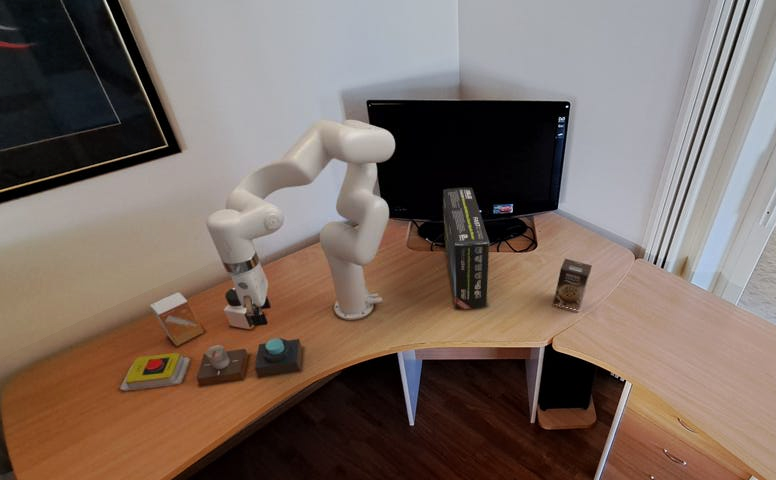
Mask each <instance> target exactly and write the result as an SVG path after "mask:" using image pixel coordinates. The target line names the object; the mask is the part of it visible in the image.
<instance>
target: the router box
mask: <svg viewBox="0 0 776 480" xmlns="http://www.w3.org/2000/svg"><path fill="white" fill-rule="evenodd" d="M479 208H480V207H479V205H478V202H477V199H476V195H475V193H474V189H473V188H472V187H456V188H455V187H454V188H446V189H443V192H442V213H443V214H442V217H443V220H442V221H443V240H444V246H445V248H444V249H445V251H444V252H445V256H446V261H447V268H448V274H449V279H450V284H451V285H450V286H451V289H452V296H453V301H454V307H455V309H456V310H475V309H481V308H486V307H488V288H489V287H488V284H489V260H490V253H489V252H490V246H491V245H490V243H491V242H490V240H489V237H488V233H487V231H486V228H485V224H484V222H483V217H482V214H481V212H480V209H479Z"/></svg>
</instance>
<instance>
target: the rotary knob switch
mask: <svg viewBox="0 0 776 480" xmlns="http://www.w3.org/2000/svg"><path fill="white" fill-rule="evenodd" d="M225 351H226V353H227V355H228V357H229V359H230V363H229V364H228V365H227V366H226V367H224V368H222V369H215V368H213V366H212V364H211V362H210V361H209V359H208V357H207V355H206V353H203V356H202V359H201V362H200V365H199V368H198V371H197V375H196V379H195V380H196V382H197V383H198V385H199V386H207V385H214V384H215V385H216V384H221V383H228V382H234V381H241V380H244V378H245V373H246V369H247V364H248V359H249V354H248V352H247V349H246V348H241V349H232V350H225Z"/></svg>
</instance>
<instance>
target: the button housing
mask: <svg viewBox="0 0 776 480" xmlns="http://www.w3.org/2000/svg"><path fill="white" fill-rule="evenodd" d="M280 339H281V340H282V342H283V345H284V350H283V351H282V352H281V353H279V354H276V355H271V354H269V353H268V351H267V349H266V344H267V342H266V343H260V344H258V347H257V353H256V358H255V364H254V370H255V372H256V374H257V377H258V378H262V377H269V376H275V375H283V374H289V373H297V372H301V363H302V353H303V346H302V344H301V341H300V339H299V338H295V339H288V340H287V339H284V338H280Z"/></svg>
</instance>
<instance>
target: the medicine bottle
mask: <svg viewBox="0 0 776 480" xmlns="http://www.w3.org/2000/svg"><path fill="white" fill-rule="evenodd" d="M224 296H225V299H226V302H227V305H226V306H225V308H223V312H224V314H225V316H226V318H227V320H228V322H229V324H230V326H231V327H235V328H240V329H245V330H253V328H254V327H255V326H254V324H253V321H252V319H251V317H250V316H247V312H246V308H244V307H243V306H242V305H241V303H240V301H239V298H238V296H237V293H236V290H235V287H232V288H230V289H229V290H227V291H226V293H225V295H224ZM252 303H253V302H252ZM253 310H258V309H257V306H256V307H253ZM261 310H262V311H263V309H261Z"/></svg>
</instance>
